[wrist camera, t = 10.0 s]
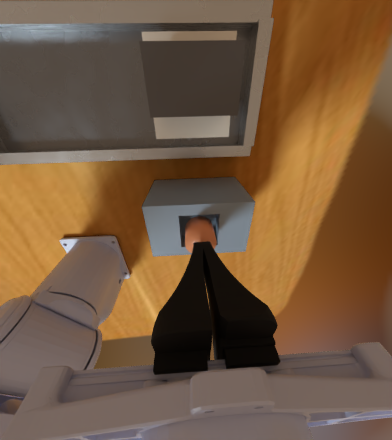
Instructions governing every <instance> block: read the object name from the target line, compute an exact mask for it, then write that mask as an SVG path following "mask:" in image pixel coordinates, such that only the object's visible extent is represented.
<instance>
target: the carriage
mask: <svg viewBox="0 0 392 440" xmlns="http://www.w3.org/2000/svg"><path fill="white" fill-rule="evenodd" d="M236 37H237V31H157V32H142V39H143V41H139V44H140V51H141V57H142V64H143V71H144V78H145V84H146V91H147V98H148V105H149V111H150V118H154V125H155V132H156V139H176V138H208V137H229V126H230V116H235V115H238V110H239V100H240V90H241V80H242V70H243V60H244V50H245V40H236Z"/></svg>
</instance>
